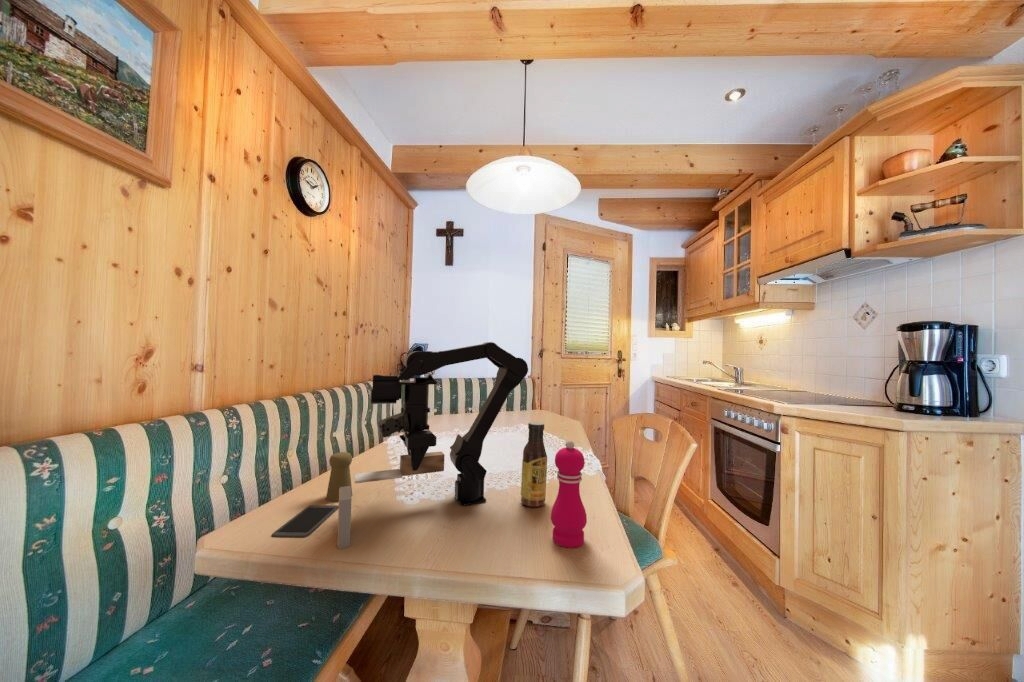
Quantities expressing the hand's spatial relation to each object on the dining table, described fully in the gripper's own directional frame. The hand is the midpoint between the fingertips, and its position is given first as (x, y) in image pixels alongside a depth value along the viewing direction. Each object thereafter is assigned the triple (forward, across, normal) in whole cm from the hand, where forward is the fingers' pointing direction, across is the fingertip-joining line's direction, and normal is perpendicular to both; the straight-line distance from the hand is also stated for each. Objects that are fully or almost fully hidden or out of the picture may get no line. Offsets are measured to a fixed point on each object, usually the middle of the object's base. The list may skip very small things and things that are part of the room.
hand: (413, 468), depth 85 cm
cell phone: (+10, -2, -22) cm, 24 cm away
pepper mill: (+9, +27, +26) cm, 39 cm away
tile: (+9, +9, -15) cm, 20 cm away
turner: (+1, 0, -3) cm, 3 cm away
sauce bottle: (+9, +9, +28) cm, 31 cm away
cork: (+10, -13, -16) cm, 23 cm away
